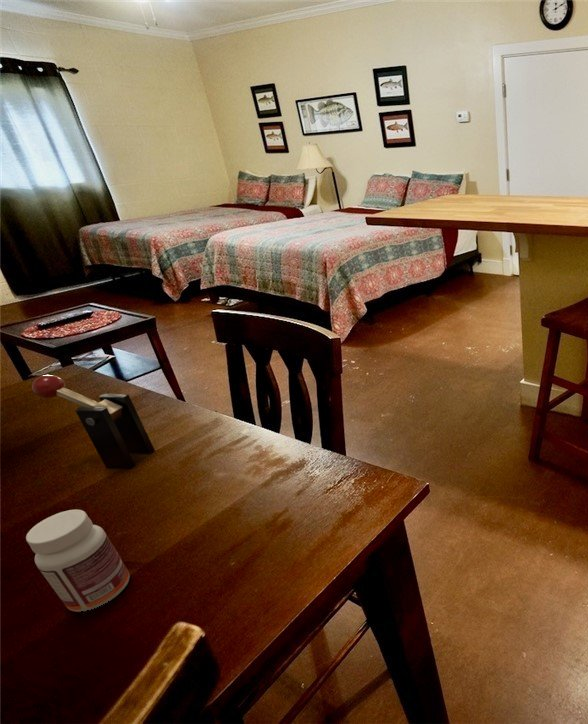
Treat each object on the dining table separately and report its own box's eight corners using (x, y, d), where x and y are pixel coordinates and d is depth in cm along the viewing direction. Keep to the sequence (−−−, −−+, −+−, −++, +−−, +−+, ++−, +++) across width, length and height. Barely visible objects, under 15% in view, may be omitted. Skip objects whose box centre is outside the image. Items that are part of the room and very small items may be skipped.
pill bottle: (140, 566, 62) (103, 501, 57) (115, 607, 57) (72, 539, 52) (85, 576, 61) (42, 511, 56) (54, 619, 56) (4, 551, 50)
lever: (24, 395, 73) (25, 378, 72) (47, 383, 76) (48, 367, 75) (105, 429, 75) (107, 413, 74) (124, 417, 79) (126, 401, 77)
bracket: (91, 478, 78) (54, 413, 72) (127, 452, 84) (96, 390, 79) (142, 480, 77) (109, 415, 72) (174, 453, 84) (146, 391, 78)
